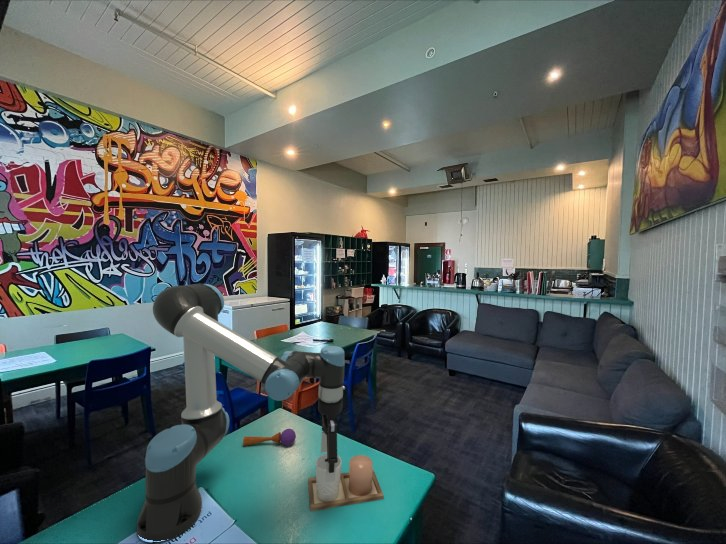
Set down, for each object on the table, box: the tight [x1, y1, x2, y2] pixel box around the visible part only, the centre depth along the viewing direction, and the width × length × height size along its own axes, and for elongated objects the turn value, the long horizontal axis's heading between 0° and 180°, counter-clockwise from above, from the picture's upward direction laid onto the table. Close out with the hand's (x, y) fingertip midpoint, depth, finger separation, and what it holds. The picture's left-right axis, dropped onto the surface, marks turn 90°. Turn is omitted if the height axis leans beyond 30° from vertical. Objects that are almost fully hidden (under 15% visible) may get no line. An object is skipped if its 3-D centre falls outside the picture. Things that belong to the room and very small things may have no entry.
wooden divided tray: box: [307, 468, 385, 512], centre depth 92 cm, size 22×12×2 cm, turn 104°
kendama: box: [242, 428, 297, 447], centre depth 117 cm, size 6×6×20 cm
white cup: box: [315, 453, 342, 502], centre depth 91 cm, size 8×8×10 cm
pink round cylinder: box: [348, 454, 374, 496], centre depth 93 cm, size 7×7×8 cm
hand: (327, 465), depth 91 cm, fingers open, 13 cm apart
